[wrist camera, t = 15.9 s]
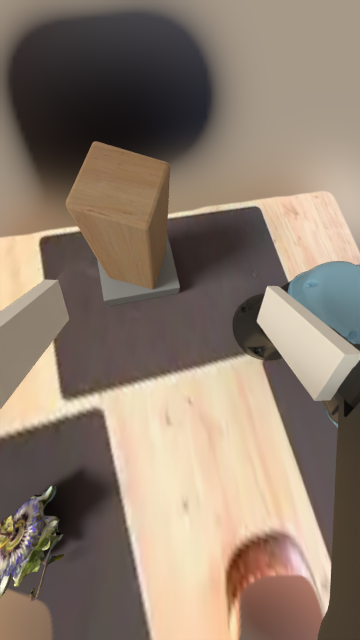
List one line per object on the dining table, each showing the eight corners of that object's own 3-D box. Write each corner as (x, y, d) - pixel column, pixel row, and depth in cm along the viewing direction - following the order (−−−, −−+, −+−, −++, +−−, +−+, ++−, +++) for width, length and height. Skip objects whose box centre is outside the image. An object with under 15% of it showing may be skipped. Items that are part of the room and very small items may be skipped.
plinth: (167, 244, 49) (167, 234, 45) (178, 293, 47) (180, 287, 43) (100, 254, 47) (95, 244, 43) (108, 306, 44) (103, 300, 41)
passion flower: (51, 483, 41) (42, 470, 33) (88, 524, 38) (88, 521, 31) (-16, 555, 33) (-49, 560, 25) (25, 613, 30) (3, 640, 22)
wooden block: (122, 237, 44) (92, 138, 24) (166, 250, 44) (171, 161, 25) (108, 278, 42) (62, 203, 22) (154, 290, 42) (149, 228, 23)
